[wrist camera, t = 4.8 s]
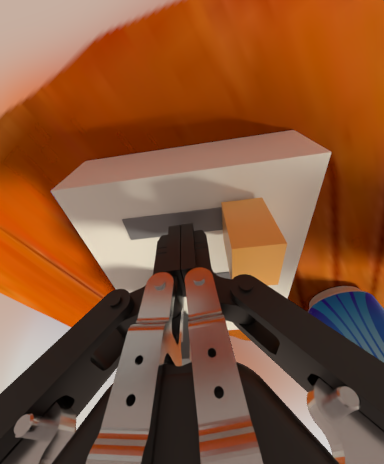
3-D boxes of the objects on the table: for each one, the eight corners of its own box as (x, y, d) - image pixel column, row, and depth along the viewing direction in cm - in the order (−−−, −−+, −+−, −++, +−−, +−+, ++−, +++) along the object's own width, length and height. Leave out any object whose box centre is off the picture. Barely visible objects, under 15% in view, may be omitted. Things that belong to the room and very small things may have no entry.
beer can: (297, 294, 28) (384, 476, 15) (366, 274, 25) (539, 477, 12) (309, 319, 32) (383, 474, 20) (369, 304, 29) (497, 475, 17)
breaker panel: (293, 129, 14) (332, 152, 10) (266, 289, 27) (279, 327, 23) (85, 161, 16) (49, 191, 12) (152, 299, 28) (146, 336, 24)
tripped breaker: (262, 197, 12) (287, 243, 9) (258, 235, 14) (278, 284, 10) (221, 202, 12) (231, 249, 9) (223, 239, 14) (232, 288, 11)
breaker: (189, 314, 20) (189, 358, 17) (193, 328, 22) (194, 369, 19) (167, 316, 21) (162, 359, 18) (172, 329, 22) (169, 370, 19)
